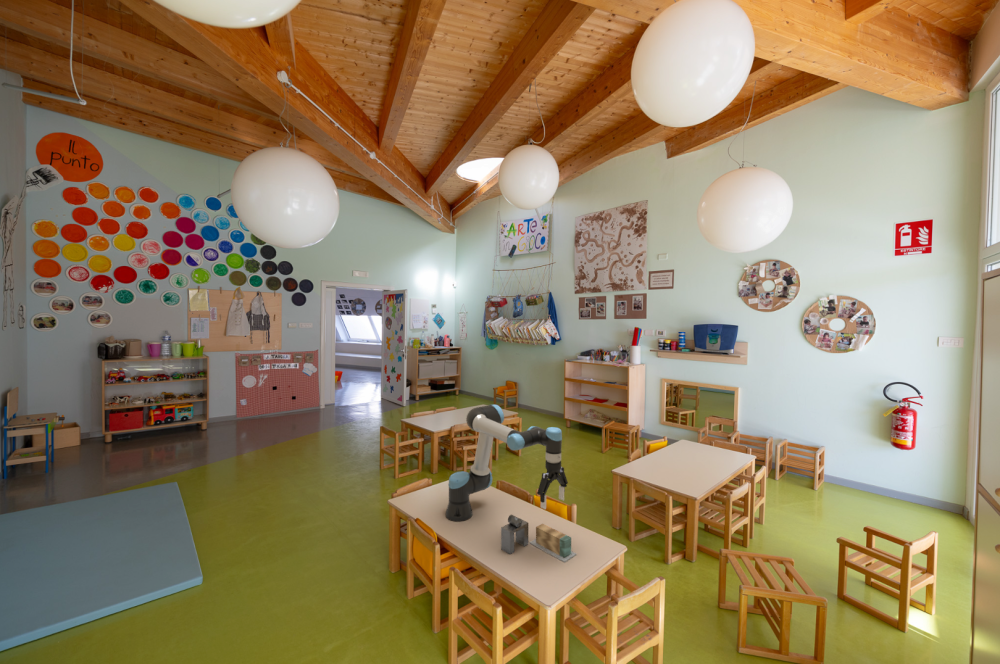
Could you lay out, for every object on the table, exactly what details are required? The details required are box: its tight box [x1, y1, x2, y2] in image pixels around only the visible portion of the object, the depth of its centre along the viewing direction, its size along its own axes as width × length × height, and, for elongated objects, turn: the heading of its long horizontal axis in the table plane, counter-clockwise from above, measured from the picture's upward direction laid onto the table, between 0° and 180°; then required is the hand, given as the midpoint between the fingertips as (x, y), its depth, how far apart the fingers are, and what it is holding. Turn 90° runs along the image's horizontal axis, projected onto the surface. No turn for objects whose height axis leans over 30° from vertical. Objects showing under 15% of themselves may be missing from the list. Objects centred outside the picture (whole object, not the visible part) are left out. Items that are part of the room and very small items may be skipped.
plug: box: [535, 523, 572, 558], centre depth 202 cm, size 18×5×8 cm, turn 43°
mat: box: [529, 538, 578, 563], centre depth 202 cm, size 22×9×1 cm, turn 43°
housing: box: [500, 514, 529, 555], centre depth 204 cm, size 6×13×15 cm, turn 133°
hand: (552, 503), depth 199 cm, fingers open, 13 cm apart
